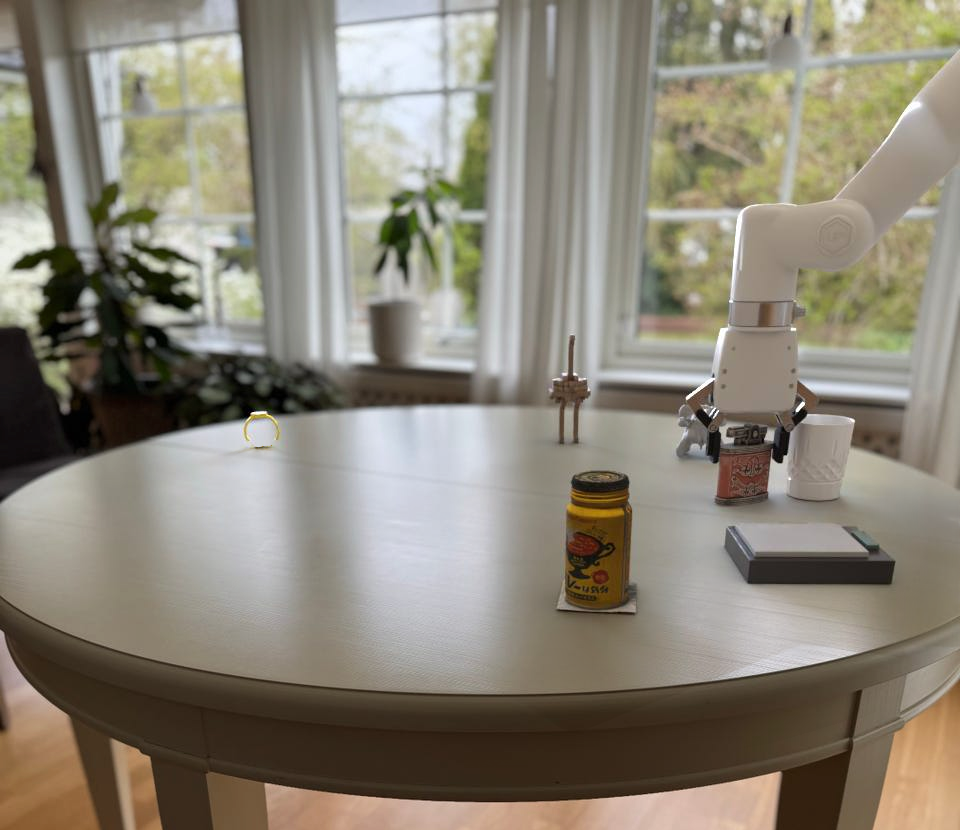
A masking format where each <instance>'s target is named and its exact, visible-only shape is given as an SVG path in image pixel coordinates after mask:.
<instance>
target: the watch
mask: <svg viewBox="0 0 960 830" xmlns="http://www.w3.org/2000/svg"><path fill="white" fill-rule="evenodd" d="M262 418H266V419H269V420H270V421H272V423H273V424H274V425H275V429H276V436H275V438H274V440H278V441H279V438H280V432H281V431H280V428H279V423H278V421H277V420H276V419H275V418H274V417H273V416H272V415H270V414H268V412H267V411H254V412H251V413H250V416H249V417H248V418H247V419H246V421H245V423H244V426H243V433H244V434H243V435H244V438H245V440H246V441H247V442H248V441H250V440H251V439H250V437H249V436H248V432H247V428H248V425H249V423H250V422H251V421H252V420H253V419H262Z"/></svg>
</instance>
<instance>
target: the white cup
mask: <svg viewBox="0 0 960 830" xmlns="http://www.w3.org/2000/svg"><path fill="white" fill-rule="evenodd" d="M855 424H856V420H855V419H854V418H851V417H849V416H848V417H847V416H843V415H834V414H819V413H818V414H816V413H815V414H807V416H806V418H805V419H803V420H802V421H801V422H800V423H799V424H798V425H797V426H796V427H795V428H794V430H793V431H792V432H790V440H789V448H788V454H787V463H786V464H787V465H786V466H787V467H786V472H787V476H786V487H785V493H786V494H787V495H788V496H789V497H791V498H794V499H798V500H803V501H804V500H805V501H813V502H814V501H817V502H818V501H819V502H822V501H823V502H824V501H831V500H836V499H838V498H839V496H840V495H841V489H842V484H843V478H844V476H845V474H846V473H845V472H846V468H847V463H848V459H849V454H850V449H851V444H852V439H853V435H854V434H853V433H854V428H855Z"/></svg>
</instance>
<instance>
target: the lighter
mask: <svg viewBox="0 0 960 830" xmlns="http://www.w3.org/2000/svg"><path fill="white" fill-rule="evenodd" d="M768 427H769V425H767V424H756V423H753V422H745V423H744V424H743V425H735V426H728V427H727V428H726V433H725V437H726V438H728V439H733V442H728V443H724V444H722V445H720V457H719V463H718V464H719V465H718V475H717V488H716V495H714V504H715V505H717V506H722V507H731V506H732V507H733V506H742V505H749V504H755V503H760V502H763V501H767V500H769V491H768V489H769V488H768V487H769V480H770V470H771V463H772V449H773V448H774V442H773V441H774V440H769V439H768V440H767V439H766V437H767V434H768V430H769V429H768Z"/></svg>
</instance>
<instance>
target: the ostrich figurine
mask: <svg viewBox="0 0 960 830" xmlns="http://www.w3.org/2000/svg"><path fill="white" fill-rule="evenodd" d="M567 340H568V343H567V344H568V345H567V372H560V377H555V378H551V385H550V387H548V399H549V400H553V403H554V404H558V407H559V409H558V443H559V444H565V410H566V407H567V404H568V403H572V404H573V410H572V412H573V413H572V419H573V420H572V442H573V443H574V444H576V443H577V444H578V443H579V414H580V413H579V412H580V406H581V403H584V401H586V399H589V397H591V393H592V391H591V389H590V388H589V386H588V379H587V378H585V377H580V375H578V373H577V372H574V355H575V354H574V350H575V341H576V335H575V334H574V333H569V334H568V339H567Z"/></svg>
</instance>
